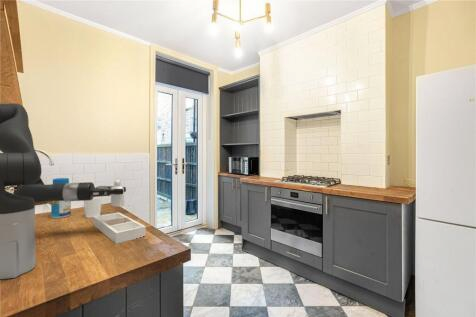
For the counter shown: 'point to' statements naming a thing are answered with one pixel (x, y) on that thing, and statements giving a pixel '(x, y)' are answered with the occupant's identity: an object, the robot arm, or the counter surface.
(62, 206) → the beverage bottle
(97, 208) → the white cup
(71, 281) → the counter surface
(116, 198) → the eye dropper bottle
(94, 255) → the counter surface
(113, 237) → the rack
